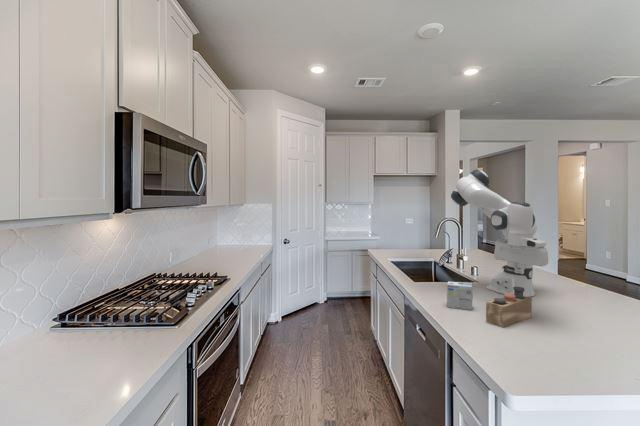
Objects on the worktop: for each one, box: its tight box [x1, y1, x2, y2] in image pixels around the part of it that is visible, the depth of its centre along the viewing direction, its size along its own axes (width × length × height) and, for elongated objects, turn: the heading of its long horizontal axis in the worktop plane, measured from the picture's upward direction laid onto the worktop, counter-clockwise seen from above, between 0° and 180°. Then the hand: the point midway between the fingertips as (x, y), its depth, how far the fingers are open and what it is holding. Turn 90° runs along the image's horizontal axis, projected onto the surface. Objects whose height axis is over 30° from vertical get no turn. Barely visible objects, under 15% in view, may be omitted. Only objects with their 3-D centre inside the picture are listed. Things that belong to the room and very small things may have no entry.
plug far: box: [513, 287, 524, 300], centre depth 135 cm, size 4×4×8 cm
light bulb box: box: [446, 281, 473, 311], centre depth 148 cm, size 11×7×11 cm, turn 65°
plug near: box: [493, 297, 506, 305], centre depth 128 cm, size 4×4×8 cm
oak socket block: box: [485, 294, 533, 328], centre depth 132 cm, size 7×21×8 cm, turn 121°
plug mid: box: [503, 294, 515, 302], centre depth 132 cm, size 4×4×8 cm
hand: (519, 273), depth 135 cm, fingers closed
